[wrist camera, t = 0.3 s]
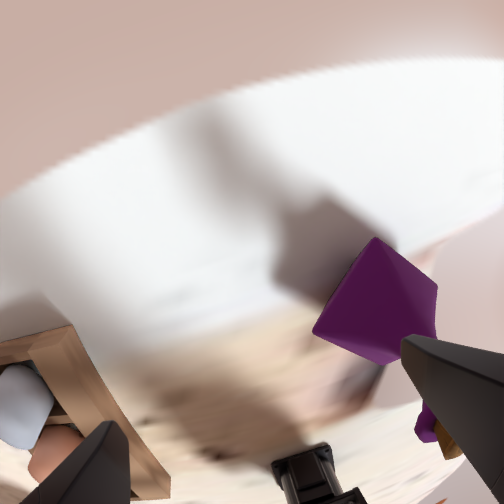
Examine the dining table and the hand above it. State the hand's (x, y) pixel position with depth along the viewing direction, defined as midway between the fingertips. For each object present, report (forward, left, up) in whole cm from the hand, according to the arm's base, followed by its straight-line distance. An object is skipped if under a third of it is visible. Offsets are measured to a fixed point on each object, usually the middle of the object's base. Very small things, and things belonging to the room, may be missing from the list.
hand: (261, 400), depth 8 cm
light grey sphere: (-5, +19, -11) cm, 22 cm away
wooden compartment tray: (-11, +19, -14) cm, 26 cm away
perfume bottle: (-5, -9, -14) cm, 18 cm away
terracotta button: (-11, +19, -11) cm, 25 cm away
